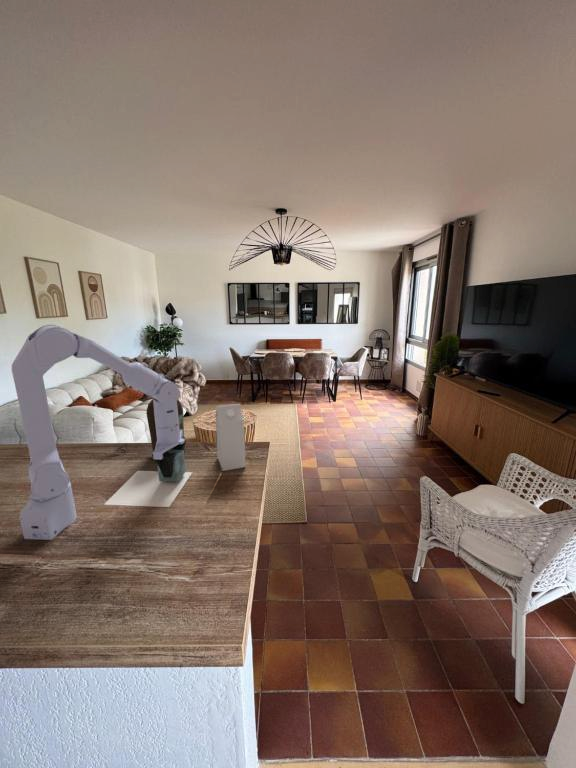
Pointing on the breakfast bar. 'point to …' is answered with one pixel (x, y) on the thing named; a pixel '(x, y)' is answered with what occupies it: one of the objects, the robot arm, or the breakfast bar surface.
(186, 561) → the breakfast bar surface
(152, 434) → the olive oil
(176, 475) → the teal brushed cube
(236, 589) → the breakfast bar surface
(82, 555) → the breakfast bar surface
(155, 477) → the base board
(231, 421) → the milk carton
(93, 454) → the breakfast bar surface
